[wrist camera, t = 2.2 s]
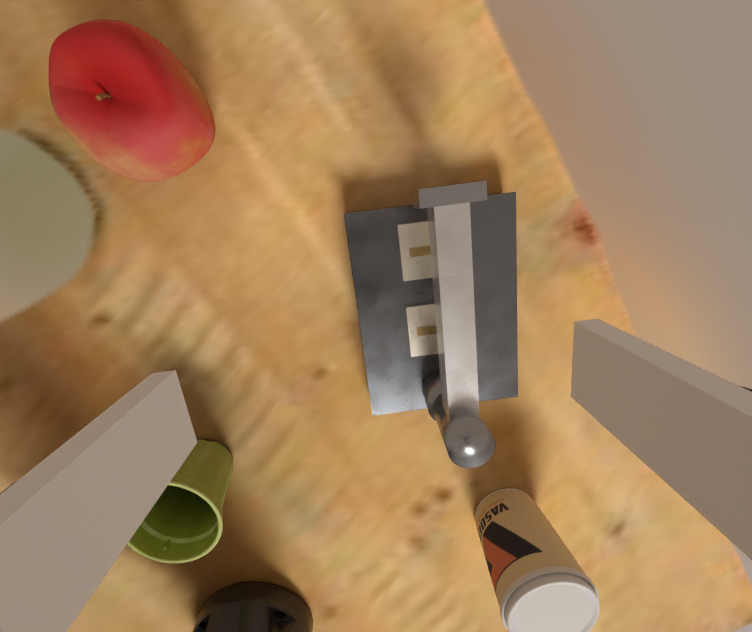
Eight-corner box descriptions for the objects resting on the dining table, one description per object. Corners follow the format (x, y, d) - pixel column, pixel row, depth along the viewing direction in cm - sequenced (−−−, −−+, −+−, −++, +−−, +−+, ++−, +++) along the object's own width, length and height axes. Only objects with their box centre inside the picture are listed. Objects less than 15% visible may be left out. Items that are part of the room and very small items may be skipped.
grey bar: (476, 420, 34) (500, 464, 28) (430, 426, 34) (444, 471, 28) (465, 184, 28) (493, 179, 22) (408, 192, 28) (421, 188, 22)
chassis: (371, 402, 40) (373, 434, 34) (345, 213, 34) (342, 214, 29) (506, 384, 40) (530, 414, 34) (502, 193, 34) (531, 190, 29)
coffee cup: (490, 472, 43) (537, 567, 32) (556, 496, 45) (623, 595, 33) (454, 529, 46) (486, 637, 34) (518, 550, 47) (568, 660, 36)
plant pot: (266, 468, 42) (243, 532, 34) (204, 507, 43) (166, 579, 35) (210, 410, 40) (171, 464, 31) (146, 454, 41) (92, 516, 33)
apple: (105, 65, 30) (-14, -1, 21) (220, 58, 30) (156, -10, 21) (135, 188, 33) (43, 180, 23) (240, 181, 33) (192, 170, 24)
